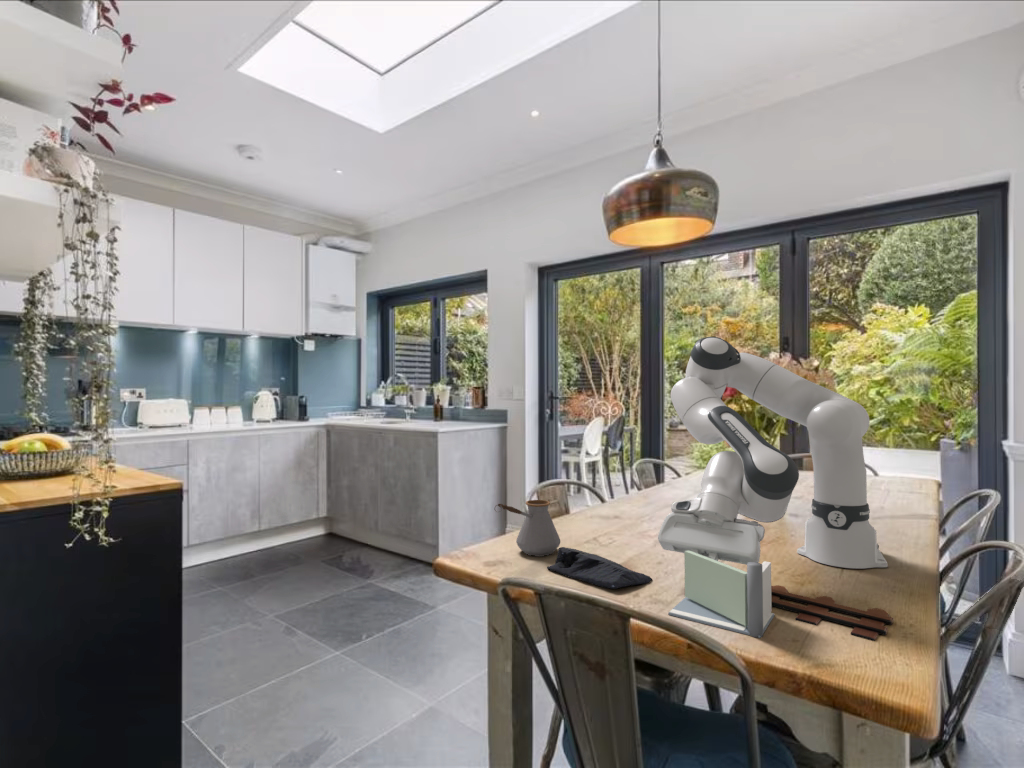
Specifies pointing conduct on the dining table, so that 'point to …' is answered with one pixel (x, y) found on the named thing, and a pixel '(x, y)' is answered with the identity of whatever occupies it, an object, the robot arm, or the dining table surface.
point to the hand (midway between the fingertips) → (699, 574)
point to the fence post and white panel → (758, 596)
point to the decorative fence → (820, 608)
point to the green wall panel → (716, 586)
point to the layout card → (711, 616)
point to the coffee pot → (536, 529)
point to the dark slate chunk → (595, 569)
